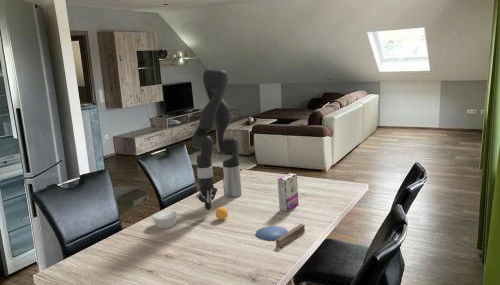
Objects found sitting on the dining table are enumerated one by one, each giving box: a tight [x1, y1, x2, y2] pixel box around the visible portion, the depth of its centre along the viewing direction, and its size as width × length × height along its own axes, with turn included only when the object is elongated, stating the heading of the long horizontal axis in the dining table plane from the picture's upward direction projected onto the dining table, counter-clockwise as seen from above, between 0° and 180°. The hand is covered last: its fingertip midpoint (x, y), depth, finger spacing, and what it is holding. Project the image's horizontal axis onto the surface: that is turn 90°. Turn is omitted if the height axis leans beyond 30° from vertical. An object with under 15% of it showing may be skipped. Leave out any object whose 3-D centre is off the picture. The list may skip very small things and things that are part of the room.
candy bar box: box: [277, 172, 300, 212], centre depth 197 cm, size 11×5×16 cm, turn 143°
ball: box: [214, 206, 228, 221], centre depth 188 cm, size 6×6×6 cm
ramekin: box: [152, 209, 177, 229], centre depth 186 cm, size 11×11×5 cm
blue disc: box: [255, 225, 289, 242], centre depth 170 cm, size 14×14×1 cm
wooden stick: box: [275, 223, 306, 249], centre depth 163 cm, size 2×18×3 cm, turn 140°
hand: (208, 209), depth 194 cm, fingers closed
